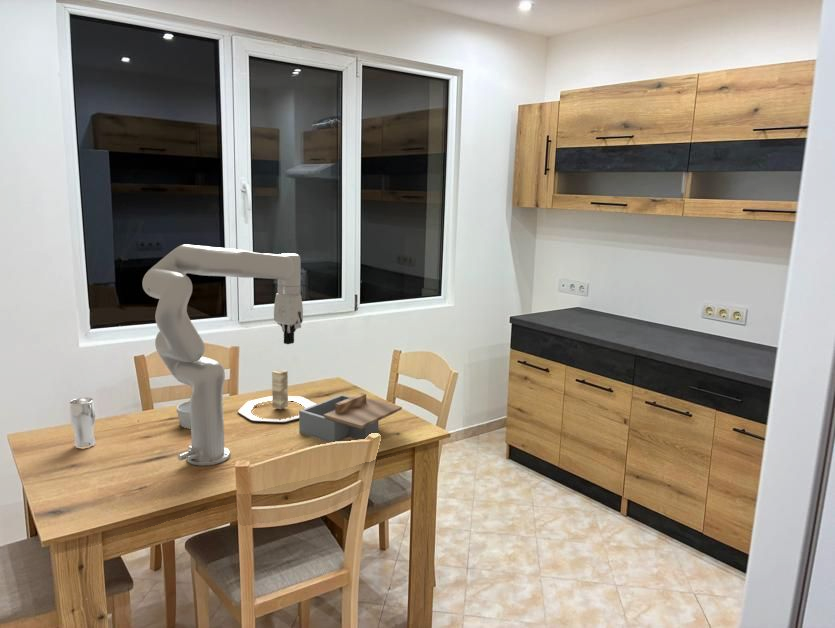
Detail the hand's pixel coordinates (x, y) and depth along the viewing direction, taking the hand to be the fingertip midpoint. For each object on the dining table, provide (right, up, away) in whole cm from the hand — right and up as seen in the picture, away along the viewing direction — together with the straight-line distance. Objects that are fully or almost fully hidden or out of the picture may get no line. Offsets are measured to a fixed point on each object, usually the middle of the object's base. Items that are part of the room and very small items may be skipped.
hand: (288, 343), depth 208 cm
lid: (+26, -24, -2) cm, 35 cm away
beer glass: (-62, -32, -14) cm, 71 cm away
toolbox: (+19, -31, +3) cm, 36 cm away
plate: (-9, -27, +22) cm, 36 cm away
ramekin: (-34, -29, +6) cm, 45 cm away
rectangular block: (-8, -25, +22) cm, 35 cm away
